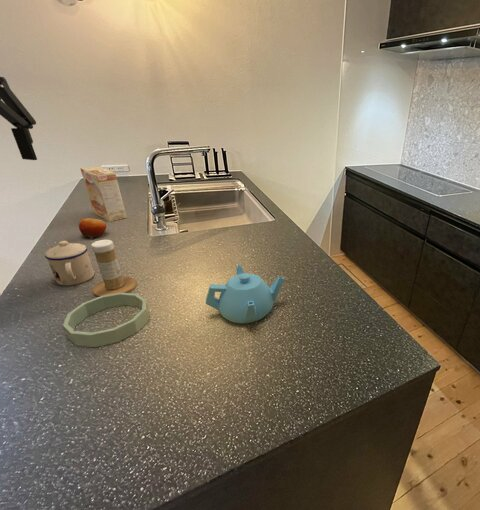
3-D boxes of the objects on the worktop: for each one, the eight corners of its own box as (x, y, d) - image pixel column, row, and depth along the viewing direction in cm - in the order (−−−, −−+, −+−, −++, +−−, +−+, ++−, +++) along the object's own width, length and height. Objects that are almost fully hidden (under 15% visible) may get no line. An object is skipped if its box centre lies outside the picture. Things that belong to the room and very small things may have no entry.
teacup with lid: (56, 274, 90) (42, 238, 84) (95, 267, 95) (84, 233, 89) (53, 295, 81) (37, 256, 76) (96, 286, 86) (83, 249, 81)
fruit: (69, 236, 109) (74, 214, 109) (89, 239, 116) (94, 219, 117) (89, 239, 108) (94, 217, 108) (108, 242, 116) (113, 221, 116)
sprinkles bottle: (112, 281, 88) (99, 238, 82) (128, 282, 88) (116, 239, 82) (101, 289, 83) (86, 245, 77) (117, 291, 84) (104, 246, 78)
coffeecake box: (93, 213, 133) (79, 167, 124) (111, 209, 138) (99, 165, 129) (108, 222, 126) (95, 174, 117) (127, 218, 131) (116, 172, 122)
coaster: (84, 296, 82) (83, 294, 81) (111, 277, 90) (110, 275, 90) (120, 300, 81) (120, 297, 81) (144, 280, 90) (143, 278, 90)
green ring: (50, 343, 67) (44, 330, 65) (103, 301, 80) (99, 290, 79) (120, 349, 66) (116, 337, 65) (161, 306, 80) (159, 295, 79)
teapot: (241, 288, 91) (239, 256, 86) (286, 301, 86) (285, 268, 81) (204, 317, 78) (198, 281, 73) (253, 335, 73) (251, 298, 69)
